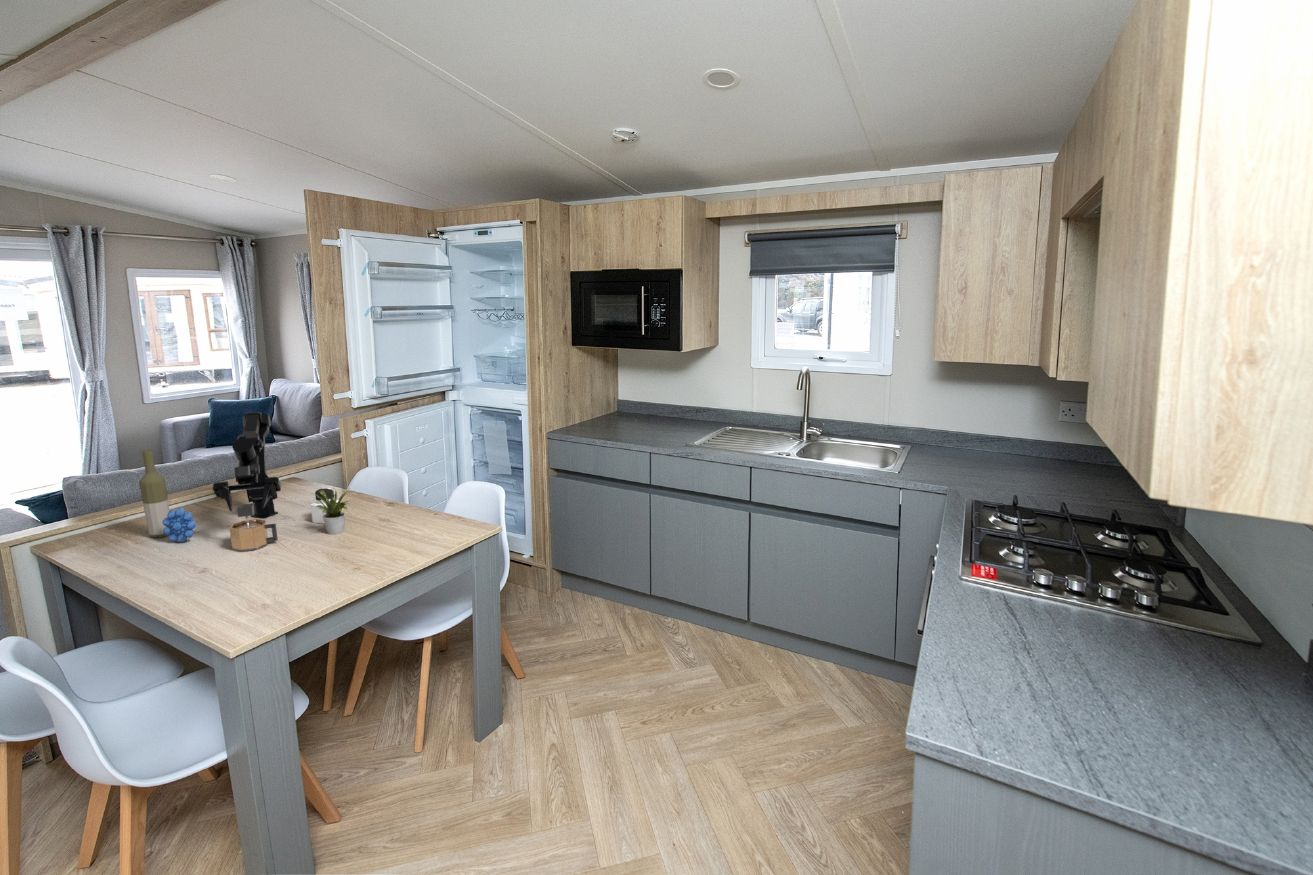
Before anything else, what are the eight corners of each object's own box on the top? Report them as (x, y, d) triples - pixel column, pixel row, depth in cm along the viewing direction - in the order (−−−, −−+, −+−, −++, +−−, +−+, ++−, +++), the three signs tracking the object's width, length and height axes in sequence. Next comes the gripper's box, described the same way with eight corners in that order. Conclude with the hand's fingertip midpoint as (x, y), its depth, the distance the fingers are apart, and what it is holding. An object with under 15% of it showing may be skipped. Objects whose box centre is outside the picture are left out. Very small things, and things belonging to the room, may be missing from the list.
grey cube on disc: (237, 526, 213) (234, 503, 212) (262, 523, 216) (259, 501, 215) (233, 533, 207) (230, 510, 205) (259, 530, 210) (256, 507, 208)
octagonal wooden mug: (236, 543, 215) (233, 521, 214) (279, 537, 220) (277, 516, 219) (230, 553, 207) (227, 531, 205) (276, 547, 212) (273, 525, 210)
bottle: (178, 533, 224) (164, 449, 218) (155, 540, 218) (141, 453, 212) (166, 530, 227) (152, 447, 221) (143, 537, 221) (129, 451, 214)
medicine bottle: (329, 524, 234) (326, 492, 231) (312, 523, 235) (308, 491, 233) (342, 518, 241) (339, 487, 238) (325, 516, 242) (322, 485, 240)
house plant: (304, 541, 217) (298, 495, 214) (313, 527, 230) (308, 483, 227) (350, 537, 221) (345, 491, 217) (357, 524, 234) (353, 480, 231)
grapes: (208, 538, 220) (203, 504, 217) (192, 545, 213) (187, 511, 211) (176, 537, 221) (170, 503, 218) (159, 544, 214) (154, 510, 212)
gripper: (209, 458, 210) (206, 500, 202) (275, 453, 217) (275, 493, 210) (218, 476, 219) (215, 517, 211) (281, 470, 226) (281, 509, 218)
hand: (247, 508), depth 212 cm, fingers open, 9 cm apart
